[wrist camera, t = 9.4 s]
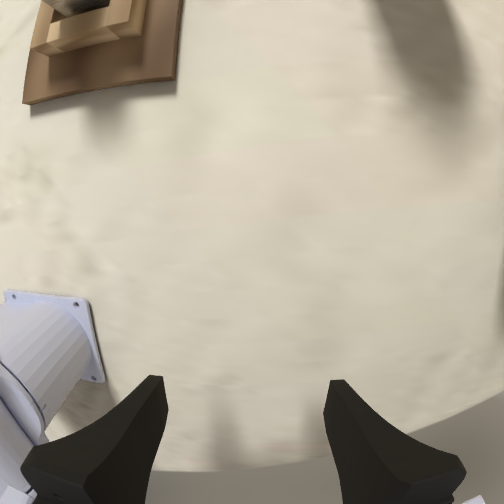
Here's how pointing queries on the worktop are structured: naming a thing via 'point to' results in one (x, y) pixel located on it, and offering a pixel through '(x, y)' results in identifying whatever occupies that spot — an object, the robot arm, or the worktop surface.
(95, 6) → the brushed grey block
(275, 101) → the worktop surface
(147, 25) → the slot block
